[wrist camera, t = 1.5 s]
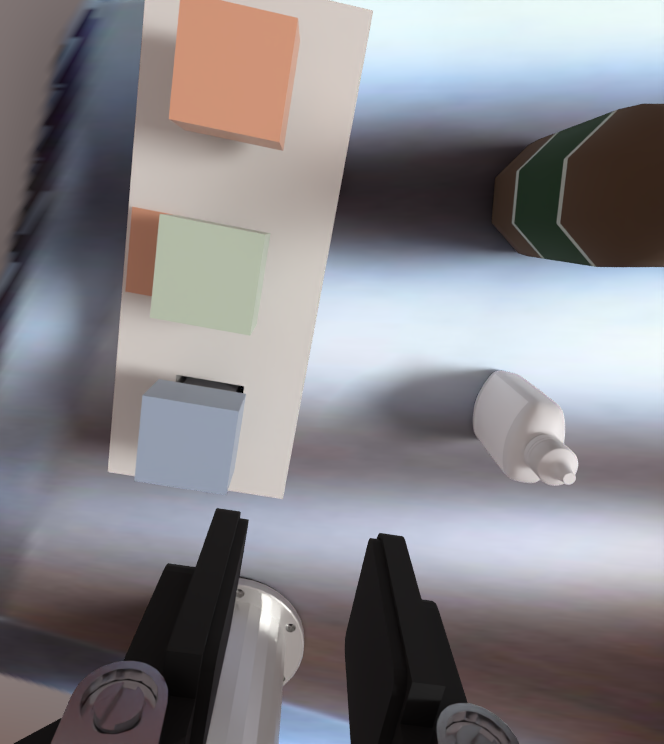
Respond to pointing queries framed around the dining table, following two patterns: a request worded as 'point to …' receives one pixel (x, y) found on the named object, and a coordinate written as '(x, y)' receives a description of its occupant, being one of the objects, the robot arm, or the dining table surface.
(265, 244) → the sage button
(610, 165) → the beer bottle
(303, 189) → the console
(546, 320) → the dining table surface
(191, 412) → the slate button
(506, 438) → the eye dropper bottle
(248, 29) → the terracotta button
